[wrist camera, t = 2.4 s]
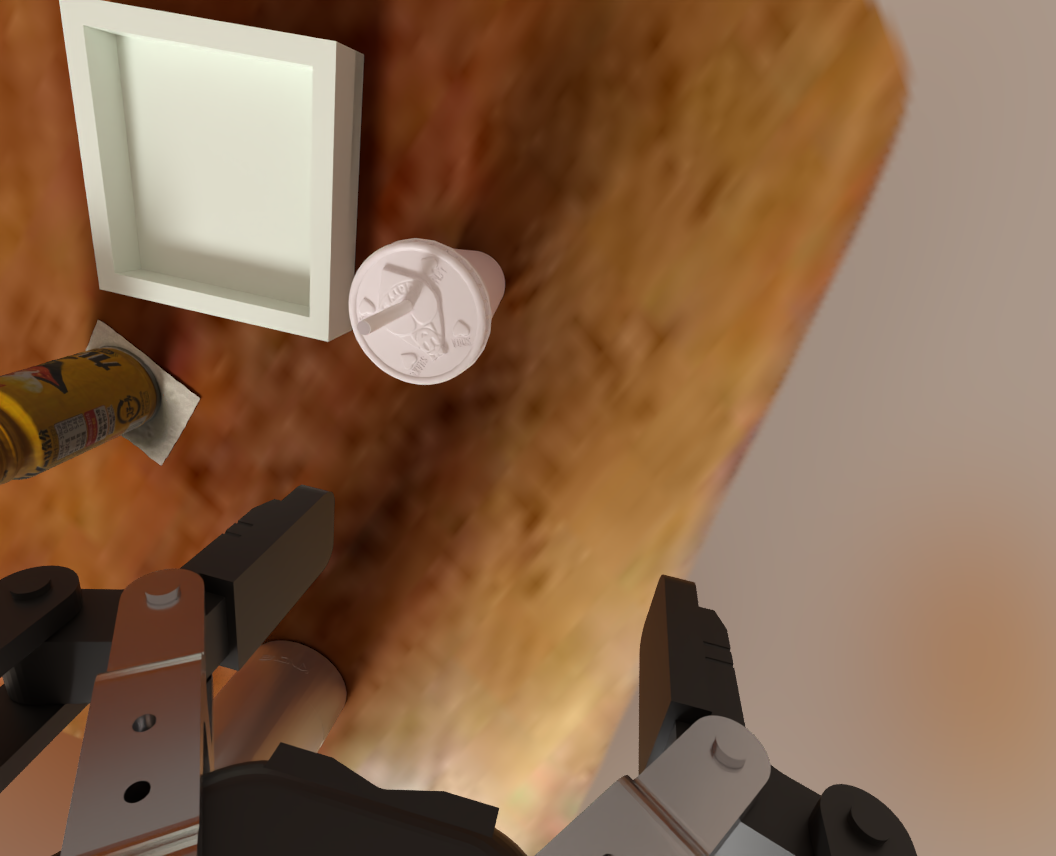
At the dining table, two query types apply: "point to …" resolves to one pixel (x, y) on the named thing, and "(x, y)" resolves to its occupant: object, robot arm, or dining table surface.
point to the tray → (218, 163)
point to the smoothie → (424, 308)
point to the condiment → (88, 406)
